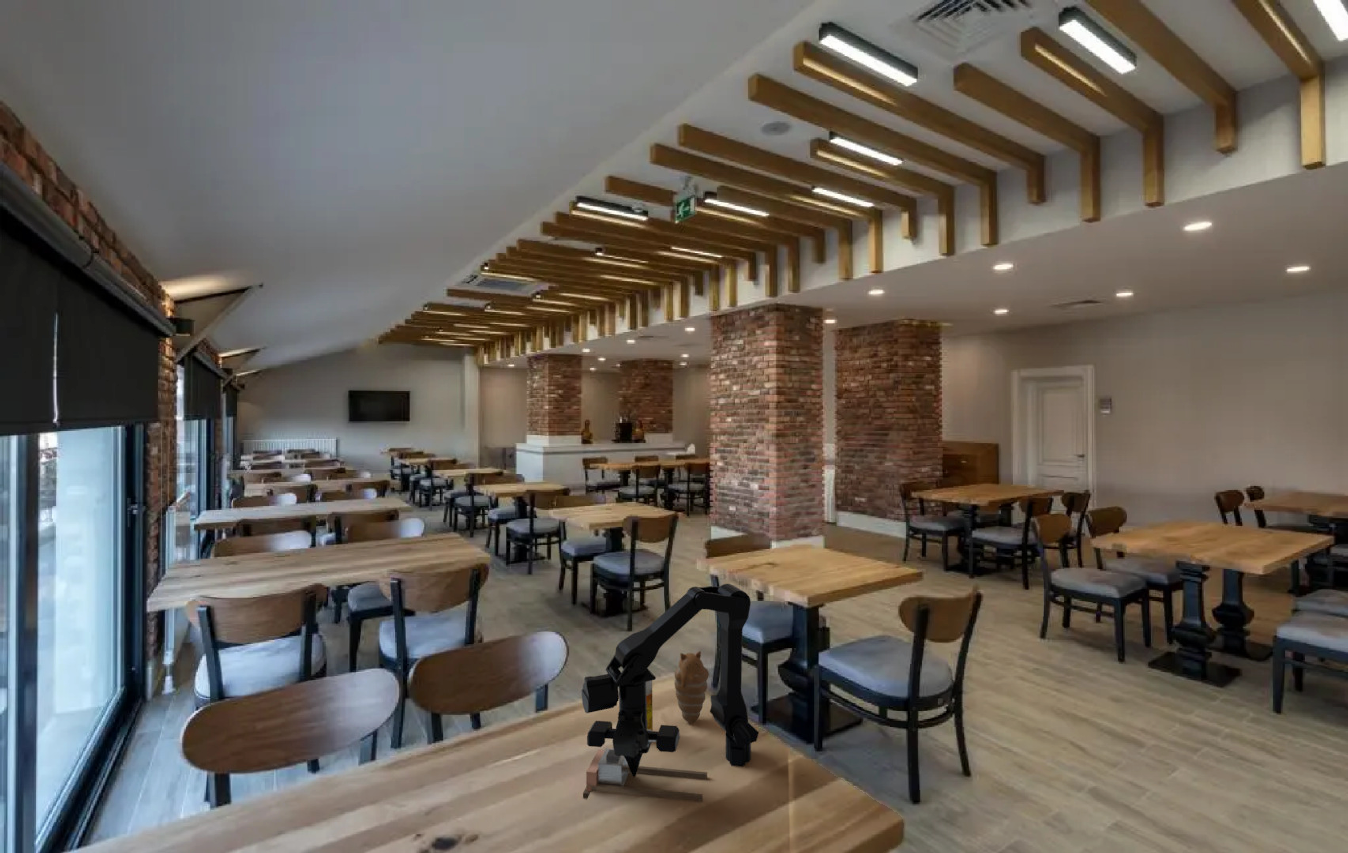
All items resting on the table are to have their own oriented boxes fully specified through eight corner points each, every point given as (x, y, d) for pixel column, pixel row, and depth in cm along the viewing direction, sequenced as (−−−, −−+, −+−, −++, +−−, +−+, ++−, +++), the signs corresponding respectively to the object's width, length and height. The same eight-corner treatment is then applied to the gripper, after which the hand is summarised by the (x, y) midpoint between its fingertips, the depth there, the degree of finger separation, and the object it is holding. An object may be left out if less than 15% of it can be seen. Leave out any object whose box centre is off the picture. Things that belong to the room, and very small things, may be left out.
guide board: (597, 769, 138) (596, 747, 138) (709, 780, 134) (709, 757, 133) (583, 797, 128) (582, 773, 128) (704, 810, 124) (704, 785, 123)
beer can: (652, 745, 147) (651, 683, 147) (626, 745, 147) (625, 683, 147) (653, 732, 153) (652, 672, 153) (628, 732, 154) (628, 672, 153)
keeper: (606, 770, 135) (605, 744, 135) (628, 773, 134) (628, 746, 134) (598, 787, 129) (597, 760, 129) (621, 790, 129) (621, 762, 128)
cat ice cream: (678, 731, 154) (677, 659, 153) (670, 716, 161) (670, 647, 161) (712, 727, 156) (712, 655, 155) (703, 712, 163) (702, 644, 163)
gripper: (577, 718, 124) (579, 795, 125) (670, 724, 121) (671, 803, 122) (594, 693, 135) (595, 764, 136) (679, 698, 132) (680, 770, 132)
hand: (634, 775), depth 131 cm, fingers closed
